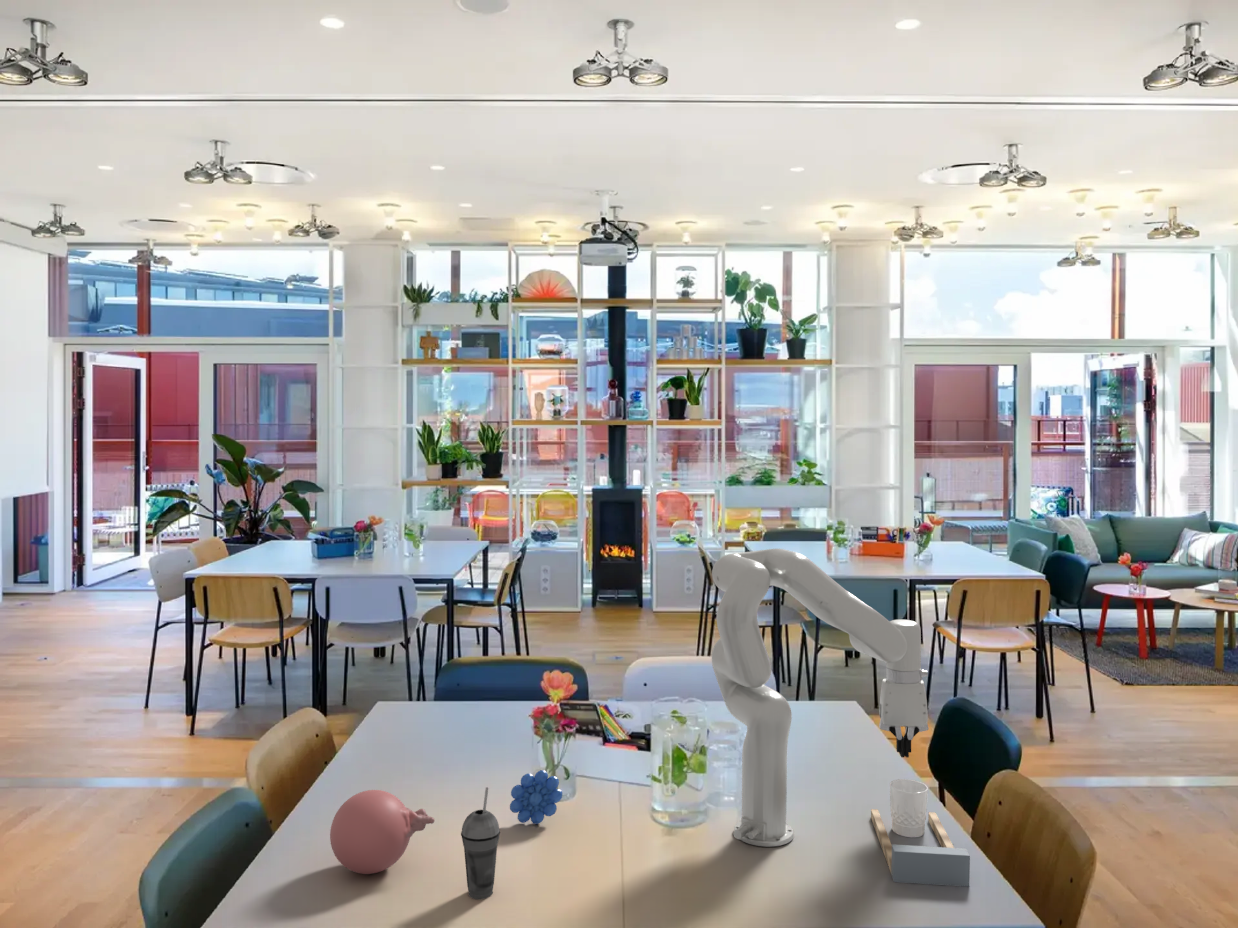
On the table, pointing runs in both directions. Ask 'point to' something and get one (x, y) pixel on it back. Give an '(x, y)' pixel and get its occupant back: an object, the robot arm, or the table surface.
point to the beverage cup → (480, 851)
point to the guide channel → (885, 839)
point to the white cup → (908, 807)
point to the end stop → (930, 865)
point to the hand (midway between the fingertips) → (903, 755)
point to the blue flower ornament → (535, 797)
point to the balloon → (374, 831)
